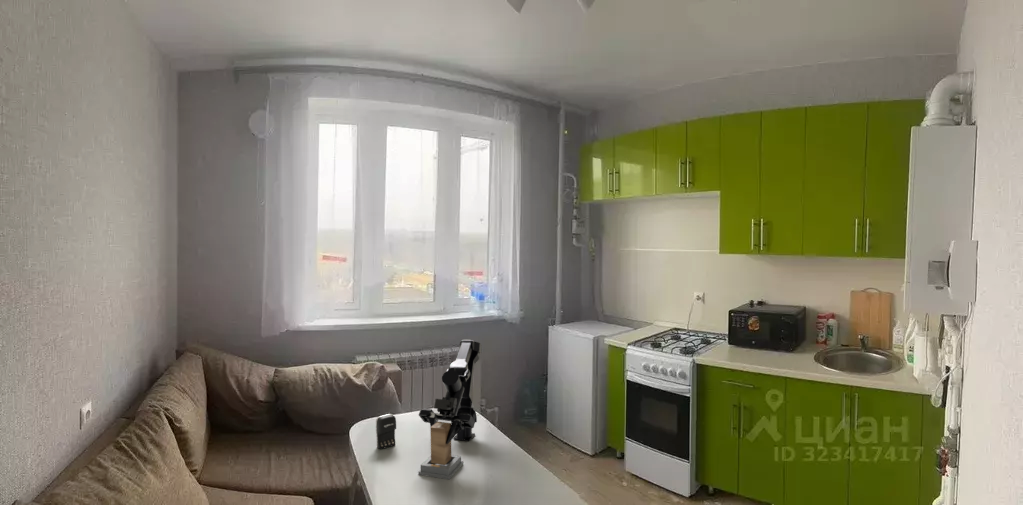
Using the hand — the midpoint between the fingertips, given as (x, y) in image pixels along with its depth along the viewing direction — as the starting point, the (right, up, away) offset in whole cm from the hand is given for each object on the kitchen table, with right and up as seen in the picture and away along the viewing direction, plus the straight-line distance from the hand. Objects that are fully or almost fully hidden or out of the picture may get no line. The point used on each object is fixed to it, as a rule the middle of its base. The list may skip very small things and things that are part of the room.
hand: (439, 442), depth 165 cm
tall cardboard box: (+1, -7, +2) cm, 7 cm away
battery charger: (-22, -9, +20) cm, 31 cm away
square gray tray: (0, -9, +2) cm, 10 cm away
